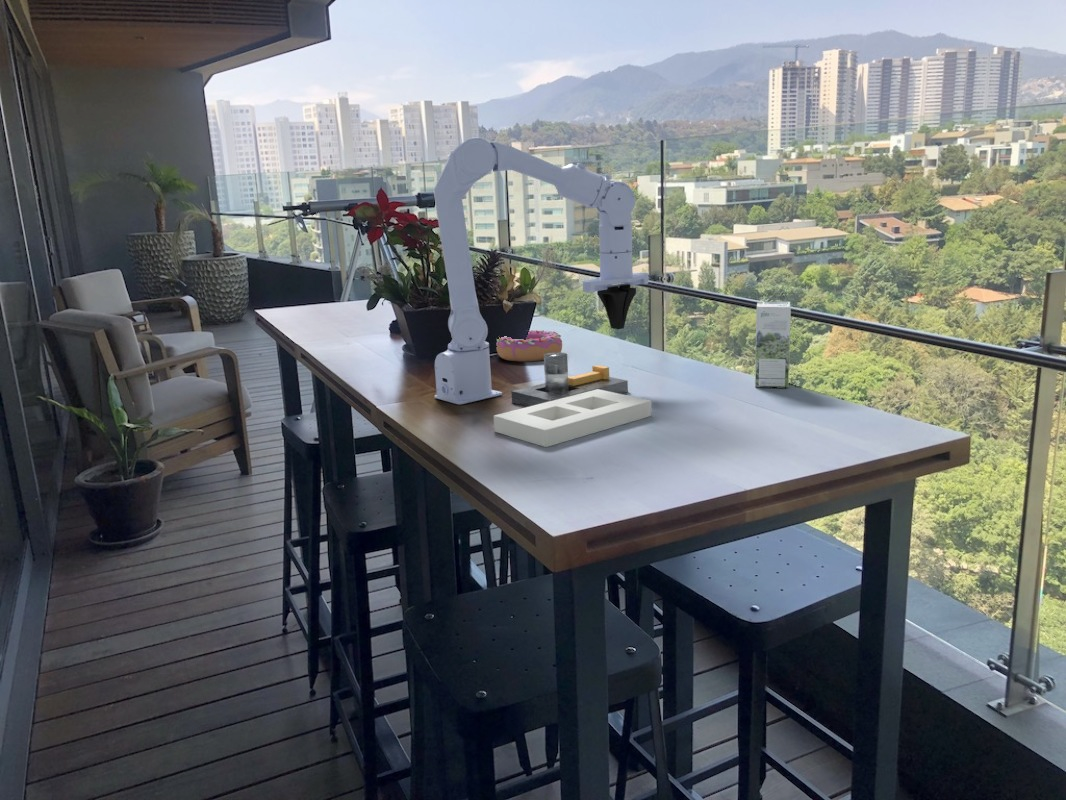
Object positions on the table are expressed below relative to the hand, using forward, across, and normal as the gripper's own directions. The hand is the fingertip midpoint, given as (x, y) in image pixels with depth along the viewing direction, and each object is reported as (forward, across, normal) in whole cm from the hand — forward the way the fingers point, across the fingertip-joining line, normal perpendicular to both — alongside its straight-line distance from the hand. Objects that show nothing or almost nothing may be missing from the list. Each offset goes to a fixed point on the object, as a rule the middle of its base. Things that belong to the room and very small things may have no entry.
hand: (617, 328), depth 156 cm
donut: (+11, +7, +34) cm, 36 cm away
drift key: (+8, -8, 0) cm, 11 cm away
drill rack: (+10, -23, -13) cm, 28 cm away
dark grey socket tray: (+10, -12, 0) cm, 16 cm away
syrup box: (+11, +17, -21) cm, 29 cm away
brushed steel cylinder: (+10, -15, 0) cm, 18 cm away
